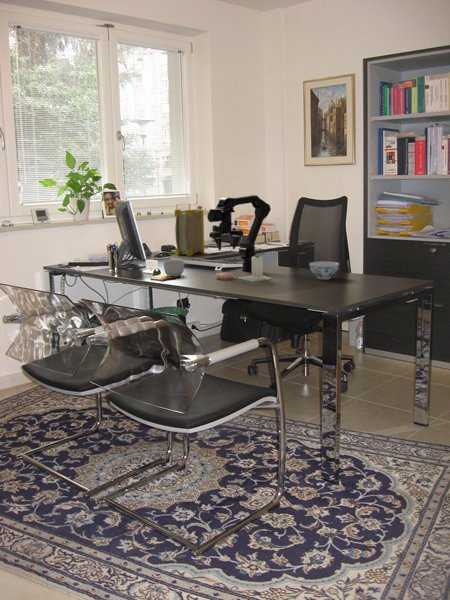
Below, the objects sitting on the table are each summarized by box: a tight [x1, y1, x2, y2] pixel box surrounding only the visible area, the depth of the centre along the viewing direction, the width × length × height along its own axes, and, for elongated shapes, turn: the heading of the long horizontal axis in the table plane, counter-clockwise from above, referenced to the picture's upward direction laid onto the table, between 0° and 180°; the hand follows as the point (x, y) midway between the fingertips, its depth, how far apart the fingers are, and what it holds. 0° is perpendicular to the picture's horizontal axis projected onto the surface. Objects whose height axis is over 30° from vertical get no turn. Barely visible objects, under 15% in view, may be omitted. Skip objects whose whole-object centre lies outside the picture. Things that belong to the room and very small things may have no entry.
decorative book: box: [174, 208, 205, 257], centre depth 459 cm, size 20×11×30 cm, turn 145°
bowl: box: [215, 272, 234, 281], centre depth 360 cm, size 9×9×2 cm
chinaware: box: [309, 261, 340, 280], centre depth 354 cm, size 15×15×8 cm
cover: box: [248, 254, 267, 279], centre depth 355 cm, size 9×9×12 cm
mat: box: [237, 275, 273, 283], centre depth 358 cm, size 13×13×1 cm
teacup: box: [163, 259, 185, 277], centre depth 374 cm, size 14×11×8 cm
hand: (226, 249), depth 374 cm, fingers open, 9 cm apart
